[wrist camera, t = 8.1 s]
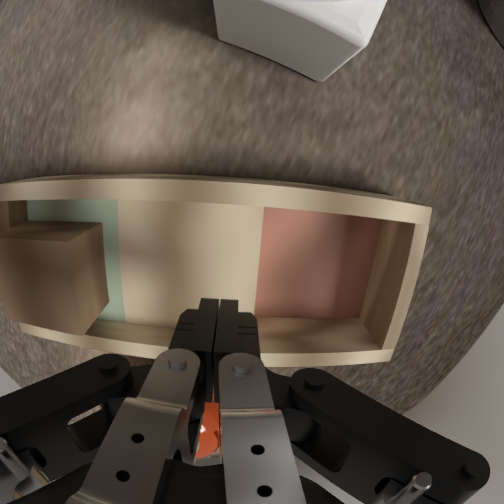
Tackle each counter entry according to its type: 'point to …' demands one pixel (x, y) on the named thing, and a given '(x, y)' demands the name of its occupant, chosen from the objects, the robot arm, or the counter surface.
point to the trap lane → (239, 259)
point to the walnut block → (53, 274)
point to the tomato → (209, 431)
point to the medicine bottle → (299, 30)
